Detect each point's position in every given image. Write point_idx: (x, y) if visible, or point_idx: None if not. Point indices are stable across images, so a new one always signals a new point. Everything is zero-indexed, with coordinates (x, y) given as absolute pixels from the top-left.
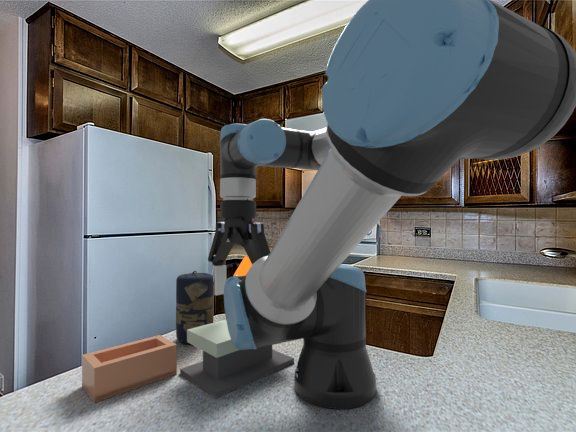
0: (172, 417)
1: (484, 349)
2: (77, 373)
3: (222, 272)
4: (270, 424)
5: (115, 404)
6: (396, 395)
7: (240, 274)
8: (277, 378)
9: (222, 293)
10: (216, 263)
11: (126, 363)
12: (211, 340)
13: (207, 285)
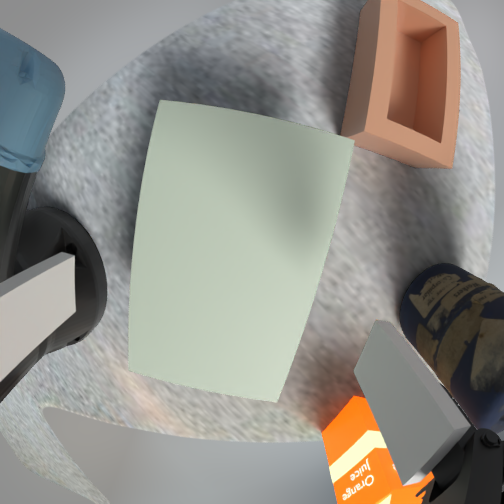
0: (206, 37)
1: (30, 433)
2: (473, 75)
3: (405, 432)
4: (66, 124)
5: (328, 18)
6: None
7: (422, 494)
8: None
9: (363, 354)
10: (467, 450)
11: (375, 25)
12: (196, 108)
13: (477, 390)
